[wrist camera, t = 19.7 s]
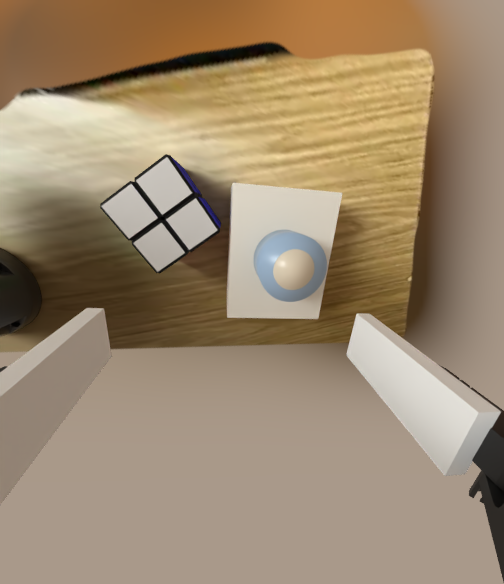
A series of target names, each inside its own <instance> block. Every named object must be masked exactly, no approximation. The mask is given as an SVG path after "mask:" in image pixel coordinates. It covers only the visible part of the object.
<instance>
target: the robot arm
mask: <svg viewBox="0 0 504 584" xmlns="http://www.w3.org/2000/svg"><path fill="white" fill-rule="evenodd" d="M40 306H41V293H40V289H39V286H38V283H37V281H36V279H35V278H34V276H33V275H32V273H31V272H30V271H29V270H28V268H27V267H26V266H25V265H24V264H23V263H22V262H20V261H19V260H18V259H17V258H15V257H14V256H12V255H11V254H9V253H8V252H6V251H4V250H2V249H0V336H5V335H8V334H11V333H13V332H15V331H17V330H19V329H21V328H22V327H24V326H26V325H27V324H29V323H30V322H31V321H32V320H33V319H34V318H35V317H36V316H37V314H38V312H39V310H40ZM347 357H348V358H349V359H350V360H351V362H352V363H353V364H354V365H355V366H356V367H357V369H358V370H359V371H360V373H361V374H362V375H363V376H364V378H365V379H366V380H367V381H368V382H369V384H370V385H371V386H372V387H373V389H374V390H375V391H376V392H377V393H378V395H379V396H380V397H381V398H382V400H383V401H384V402H385V403H386V404H387V406H388V407H389V408H390V409H391V410H392V412H393V413H394V414H395V415H396V417H397V418H398V419H399V420H400V422H401V423H402V424H403V425H404V427H405V428H406V429H407V430H408V431H409V433H410V434H411V435H412V436H413V438H414V439H415V440H416V441H417V442H418V444H419V445H420V446H421V447H422V449H423V450H424V451H425V452H426V454H427V455H428V456H429V457H430V458H431V460H432V461H433V462H434V463H435V464H436V466H437V467H438V468H439V469H440V471H441V472H442V473H443V474H444V476H450V475H462V474H465V473H466V472H467V470H468V468H469V466H470V464H471V463H472V461H473V462H474V463H475V464H476V465H477V466H478V467H479V468H480V469H481V472H480V474H479V475H478V477H477V479H476V480H475V482H474V484H473V485H472V487H471V488H470V490H469V496H471V497H472V498H474V496H475V495H476V493H477V491H481V493H482V498H481V499H480V502H482V503H484V505H485V509H486V513H487V517H488V521H489V525H490V529H491V533H492V537H493V541H494V545H495V549H496V553H497V557H498V561H499V565H500V569H501V573H502V577H503V581H504V411H503V410H502V409H500V408H499V407H498V406H496V405H495V404H494V403H492V402H491V401H489V400H488V399H487V398H485V397H484V396H483V395H481V394H480V393H478V392H477V391H476V390H475V389H473V388H470V386H469V385H468V384H466V383H465V382H464V381H462V380H459V378H458V377H457V376H456V375H454V374H453V373H451V372H450V371H449V370H447V369H446V368H444V367H442V366H440V365H438V364H436V363H435V362H434V361H432V360H431V359H430V358H428V357H427V356H425V355H424V354H423V353H422V352H420V351H419V350H418V349H416V348H415V347H413V346H412V345H411V344H409V343H408V342H407V341H405V340H404V339H403V338H401V337H400V336H399V335H397V334H396V333H395V332H393V331H392V330H391V329H389V328H388V327H387V326H385V325H384V324H383V323H381V322H380V321H379V320H377V319H376V318H375V317H373V316H372V315H371V314H358V313H357V315H356V319H355V323H354V327H353V331H352V335H351V338H350V342H349V346H348V350H347ZM110 358H111V350H110V343H109V337H108V331H107V324H106V318H105V312H104V308H86V309H85V310H83V311H82V312H81V313H79V314H78V315H77V316H75V317H74V318H73V319H71V320H70V321H69V322H67V323H66V324H65V325H63V326H62V327H61V328H59V329H58V330H57V331H55V332H54V333H53V334H51V335H50V336H49V337H47V338H46V339H44V340H43V341H42V342H40V343H39V344H38V345H36V346H35V347H34V348H32V349H31V350H30V351H28V352H27V353H26V354H24V355H23V356H22V357H20V358H19V359H18V360H16V361H15V362H14V363H12V364H11V365H10V366H8V367H2V368H0V505H1V503H2V502H3V501H4V499H5V498H6V497H7V495H8V494H9V493H10V491H11V490H12V489H13V487H14V486H15V485H16V483H17V482H18V481H19V479H20V478H21V477H22V475H23V474H24V473H25V471H26V470H27V469H28V467H29V466H30V465H31V463H32V462H33V461H34V459H35V458H36V457H37V455H38V454H39V453H40V451H41V450H42V449H43V447H44V446H45V445H46V443H47V442H48V441H49V439H50V438H51V437H52V435H53V434H54V433H55V431H56V430H57V429H58V427H59V426H60V424H61V423H62V422H63V420H64V419H65V418H66V416H67V415H68V414H69V412H70V411H71V410H72V409H73V407H74V406H75V404H76V403H77V402H78V400H79V399H80V398H81V396H82V395H83V394H84V393H85V391H86V390H87V388H88V387H89V386H90V385H91V383H92V382H93V380H94V379H95V378H96V376H97V375H98V374H99V372H100V371H101V370H102V368H103V367H104V366H105V364H106V363H107V362H108V360H109V359H110Z"/></svg>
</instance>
